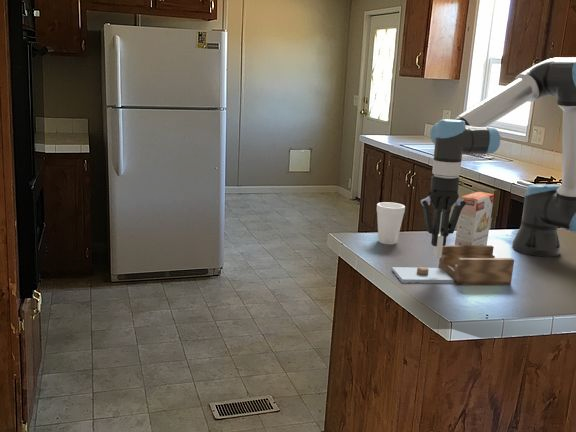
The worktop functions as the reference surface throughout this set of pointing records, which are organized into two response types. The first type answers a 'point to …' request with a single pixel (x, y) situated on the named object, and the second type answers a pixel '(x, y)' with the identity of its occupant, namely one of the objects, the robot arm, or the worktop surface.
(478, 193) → the cracker box
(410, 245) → the worktop surface
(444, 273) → the lid
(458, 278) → the box
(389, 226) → the foam cup
